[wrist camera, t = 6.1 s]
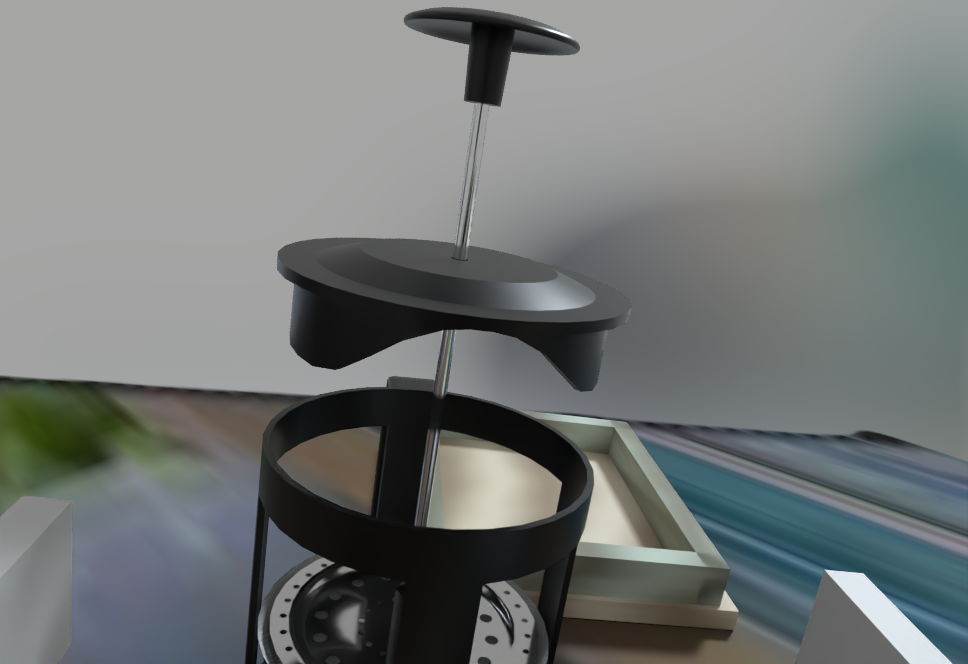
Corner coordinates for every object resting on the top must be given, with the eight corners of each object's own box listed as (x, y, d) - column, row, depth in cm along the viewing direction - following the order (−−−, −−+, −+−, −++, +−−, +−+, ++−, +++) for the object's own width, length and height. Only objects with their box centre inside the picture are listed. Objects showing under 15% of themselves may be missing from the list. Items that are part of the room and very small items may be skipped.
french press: (571, 968, 19) (804, 27, 13) (188, 999, 17) (260, -87, 11) (490, 653, 30) (597, 68, 24) (253, 651, 28) (307, 15, 22)
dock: (391, 603, 32) (399, 543, 31) (400, 437, 49) (406, 395, 49) (733, 630, 34) (749, 574, 33) (627, 461, 51) (636, 421, 51)
